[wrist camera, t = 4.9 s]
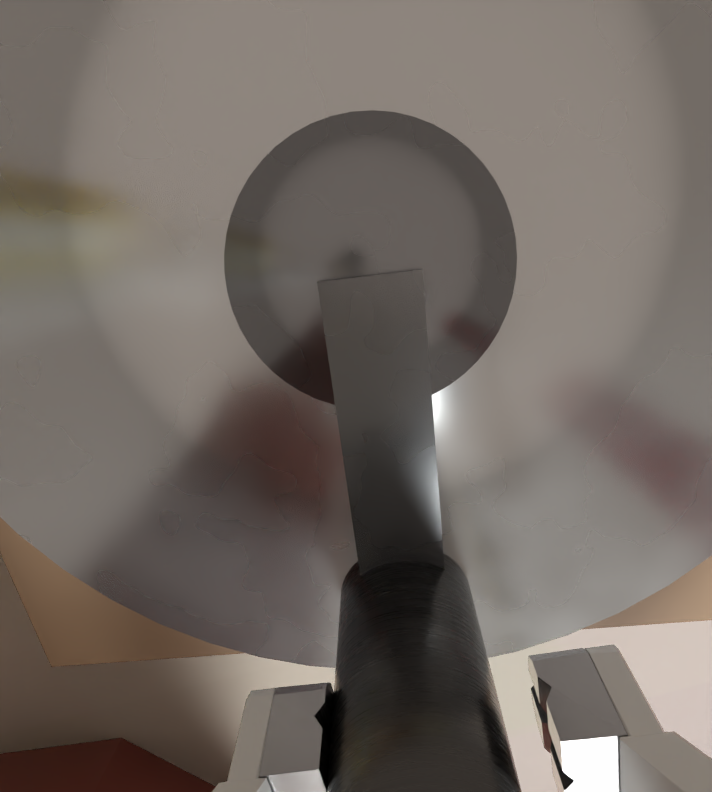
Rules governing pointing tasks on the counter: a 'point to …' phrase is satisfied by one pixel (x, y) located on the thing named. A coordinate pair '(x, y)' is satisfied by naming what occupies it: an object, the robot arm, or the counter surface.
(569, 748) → the robot arm
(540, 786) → the counter surface
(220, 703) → the counter surface
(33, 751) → the bucket
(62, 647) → the walnut base
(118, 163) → the handwheel
